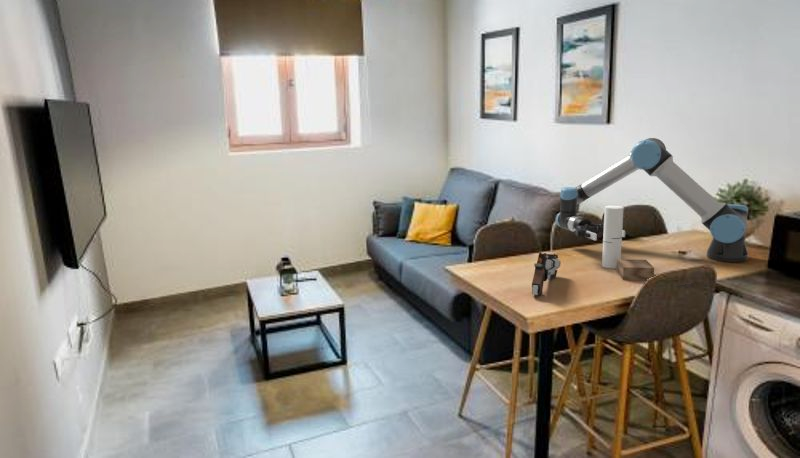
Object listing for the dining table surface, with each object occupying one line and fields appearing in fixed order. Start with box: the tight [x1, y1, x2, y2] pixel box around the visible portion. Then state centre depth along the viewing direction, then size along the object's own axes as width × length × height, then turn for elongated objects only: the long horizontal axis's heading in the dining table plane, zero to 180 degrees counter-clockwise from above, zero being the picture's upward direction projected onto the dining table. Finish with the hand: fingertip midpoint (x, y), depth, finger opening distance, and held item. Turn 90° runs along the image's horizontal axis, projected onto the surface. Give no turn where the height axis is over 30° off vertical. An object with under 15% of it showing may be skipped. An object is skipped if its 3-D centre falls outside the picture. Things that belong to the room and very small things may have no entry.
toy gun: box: [531, 252, 562, 296], centre depth 207 cm, size 5×28×15 cm, turn 151°
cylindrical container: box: [601, 204, 624, 269], centre depth 226 cm, size 7×7×25 cm
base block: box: [615, 258, 655, 281], centre depth 215 cm, size 11×11×5 cm
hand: (610, 235), depth 227 cm, fingers open, 13 cm apart
